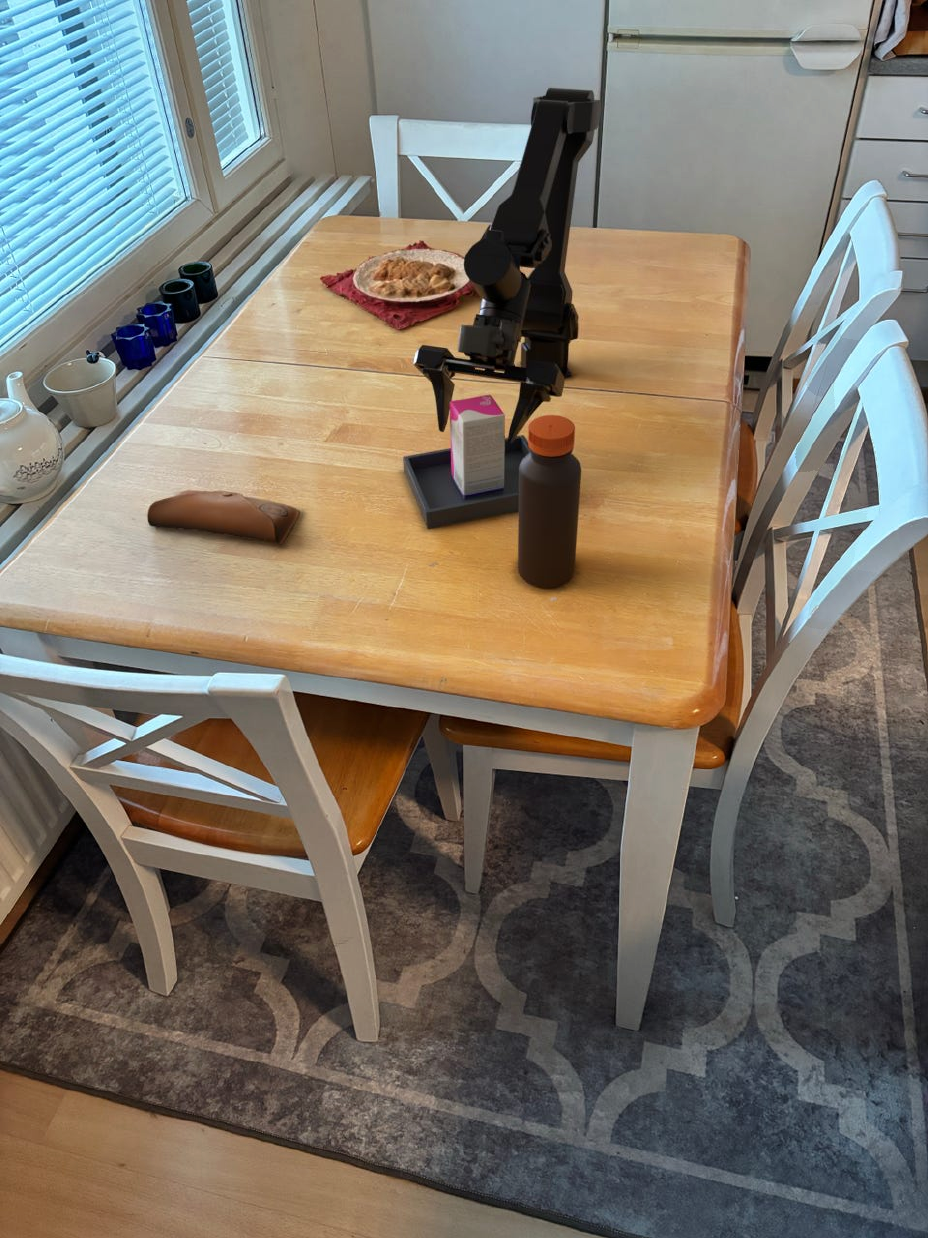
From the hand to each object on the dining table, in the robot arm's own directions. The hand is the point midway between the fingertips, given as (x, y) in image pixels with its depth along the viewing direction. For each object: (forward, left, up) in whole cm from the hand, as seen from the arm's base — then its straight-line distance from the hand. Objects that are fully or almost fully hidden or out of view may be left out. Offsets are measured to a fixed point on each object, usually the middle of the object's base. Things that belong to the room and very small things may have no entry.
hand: (475, 436), depth 120 cm
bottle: (-3, +19, -8) cm, 21 cm away
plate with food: (-6, -64, -8) cm, 65 cm away
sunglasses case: (+33, -3, -8) cm, 34 cm away
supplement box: (0, -1, -8) cm, 8 cm away
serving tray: (0, -1, -8) cm, 8 cm away
